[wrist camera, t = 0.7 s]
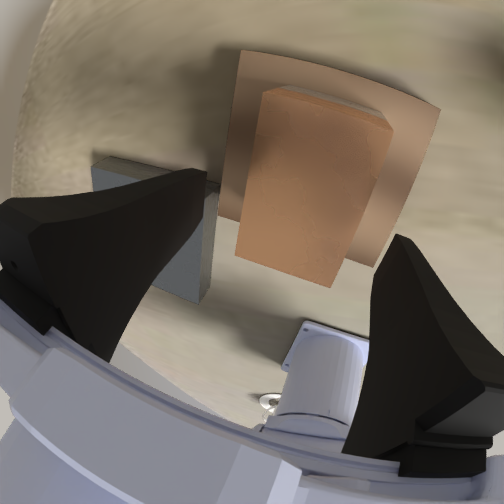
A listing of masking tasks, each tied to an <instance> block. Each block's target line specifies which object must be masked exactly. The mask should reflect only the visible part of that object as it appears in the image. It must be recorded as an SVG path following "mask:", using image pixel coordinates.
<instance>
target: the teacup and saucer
mask: <svg viewBox="0 0 504 504" xmlns="http://www.w3.org/2000/svg"><path fill="white" fill-rule="evenodd" d="M280 397H281V394H266V395H263V396H261V397H260V399H259V402H260V404H261V405H262V406H263V407H264V408H265V409H266V411H265V412H264V413H263V415H262V418H263V420H264V421H267V419H265V418H264V414H265V413H266V412H267V411H270V412H272V416H274V415H275V412H276V409H277V406H278V405H275V406H272V407H271V406H270V405H269V403H268V402H269V400H270V399H273V398H280ZM274 408H275V409H274Z"/></svg>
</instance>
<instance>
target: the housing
mask: <svg viewBox="0 0 504 504" xmlns="http://www.w3.org/2000/svg"><path fill="white" fill-rule="evenodd" d="M393 134H394V130H393V129H392V127H391V126H390V124H389V122H388V121H387V119H386V118H385V116H384V115H383V113H382V112H379V111H376V110H374V109H371V108H368V107H365V106H362V105H359V104H356V103H353V102H350V101H347V100H344V99H341V98H338V97H334V96H331V95H328V94H324V93H321V92H317V91H313V90H309V89H306V88H302V87H298V86H293V85H287V86H283V87H279V88H276V89H272V90H268V91H265V92H263V95H262V101H261V106H260V112H259V117H258V123H257V128H256V134H255V139H254V145H253V150H252V156H251V162H250V167H249V173H248V179H247V185H246V190H245V196H244V202H243V208H242V214H241V220H240V226H239V232H238V238H237V244H236V250H235V256H238V257H241V258H244V259H247V260H250V261H252V262H255V263H258V264H261V265H264V266H267V267H270V268H273V269H276V270H278V271H281V272H284V273H287V274H290V275H293V276H296V277H299V278H302V279H305V280H308V281H311V282H313V283H316V284H319V285H322V286H325V287H328V288H331V286H332V284H333V282H334V279H335V277H336V275H337V273H338V271H339V269H340V267H341V264H342V262H343V260H344V258H345V256H346V253H347V251H348V249H349V247H350V245H351V242H352V240H353V238H354V235H355V233H356V231H357V228H358V226H359V224H360V221H361V219H362V217H363V214H364V212H365V209H366V207H367V204H368V202H369V199H370V197H371V194H372V192H373V189H374V187H375V184H376V181H377V179H378V176H379V173H380V171H381V168H382V165H383V163H384V160H385V157H386V154H387V151H388V149H389V146H390V143H391V140H392V137H393Z"/></svg>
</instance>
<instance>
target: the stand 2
mask: <svg viewBox="0 0 504 504" xmlns="http://www.w3.org/2000/svg"><path fill="white" fill-rule="evenodd" d="M287 85H293V86H298V87H302V88H306V89H309V90H313V91H317V92H321V93H324V94H328V95H331V96H334V97H338V98H341V99H344V100H347V101H350V102H353V103H356V104H359V105H362V106H365V107H368V108H371V109H374V110H376V111H379V112H382V113H383V115H384V116H385V118H386V119H387V121H388V122H389V124H390V126H391V127H392V129H393V130H394V134H393V137H392V140H391V143H390V146H389V149H388V151H387V154H386V157H385V160H384V163H383V165H382V168H381V171H380V173H379V176H378V179H377V181H376V184H375V187H374V189H373V192H372V194H371V197H370V199H369V202H368V204H367V207H366V209H365V212H364V214H363V217H362V219H361V221H360V224H359V226H358V228H357V231H356V233H355V235H354V238H353V240H352V242H351V245H350V247H349V249H348V251H347V253H346V256H345V258H347V259H350V260H353V261H356V262H358V263H361V264H364V265H367V266H370V267H372V268H373V267H374V265H375V263H376V261H377V259H378V257H379V255H380V253H381V251H382V249H383V247H384V246H385V244H386V242H387V240H388V238H389V236H390V234H391V231H392V229H393V227H394V225H395V223H396V221H397V219H398V217H399V215H400V213H401V210H402V208H403V206H404V204H405V202H406V199H407V197H408V195H409V193H410V190H411V188H412V186H413V183H414V181H415V178H416V176H417V174H418V171H419V169H420V166H421V164H422V161H423V159H424V156H425V153H426V151H427V148H428V146H429V143H430V140H431V137H432V135H433V132H434V129H435V126H436V123H437V120H438V117H439V114H440V111H441V109H439V108H437V107H435V106H433V105H431V104H429V103H427V102H425V101H423V100H420V99H418V98H416V97H414V96H411V95H409V94H407V93H404V92H402V91H399V90H397V89H394V88H392V87H389V86H386V85H384V84H381V83H378V82H375V81H373V80H370V79H367V78H364V77H361V76H358V75H355V74H351V73H348V72H345V71H342V70H338V69H335V68H331V67H327V66H324V65H320V64H316V63H312V62H308V61H303V60H299V59H294V58H289V57H284V56H279V55H274V54H268V53H262V52H256V51H248V50H241V54H240V59H239V65H238V71H237V78H236V84H235V90H234V96H233V103H232V110H231V116H230V123H229V130H228V137H227V144H226V152H225V159H224V167H223V175H222V183H221V191H220V199H219V208H218V216H221V217H225V218H228V219H231V220H234V221H237V222H240V220H241V214H242V208H243V202H244V196H245V190H246V185H247V179H248V173H249V167H250V162H251V156H252V150H253V145H254V139H255V134H256V128H257V123H258V117H259V112H260V106H261V101H262V95H263V92H265V91H268V90H272V89H276V88H279V87H283V86H287Z"/></svg>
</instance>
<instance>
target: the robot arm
mask: <svg viewBox="0 0 504 504" xmlns="http://www.w3.org/2000/svg"><path fill="white" fill-rule="evenodd" d="M206 177H207V172H206V171H202V170H198V169H194V168H189V169H183V170H179V171H175V172H171V173H167V174H163V175H160V176H156V177H153V178H149V179H146V180H142V181H138V182H134V183H130V184H127V185H123V186H119V187H114V188H110V189H105V190H100V191H94V192H87V193H80V194H74V195H65V196H54V197H29V198H10V199H7V200H6V201H4V202H3V203H2V204H0V263H1V265H2V268H3V269H2V270H1V271H0V386H1V387H2V389H3V390H4V391H5V392H6V393H7V394H8V395H9V396H10V397H11V398H10V399H9V404H10V409H11V412H12V414H13V415H14V417H15V419H14V420H13V422H12V424H11V425H10V426H9V428H8V430H7V431H6V433H5V434H4V436H3V437H2V439H1V441H0V504H504V455H495V456H490V457H487V458H486V449H489V448H491V447H492V445H493V436H494V435H496V434H498V433H499V432H501V431H503V430H504V356H503V355H502V354H501V353H500V352H499V351H498V350H497V349H496V348H495V347H494V346H493V345H492V344H491V343H490V342H489V341H488V340H487V339H486V338H485V337H484V335H483V334H482V333H481V332H480V331H479V330H478V329H477V328H476V326H475V325H474V324H473V323H472V322H471V321H470V319H469V318H468V317H467V316H466V314H465V313H464V312H463V311H462V309H461V308H460V307H459V306H458V304H457V303H456V302H455V300H454V299H453V298H452V296H451V295H450V293H449V292H448V290H447V289H446V288H445V286H444V285H443V283H442V282H441V281H440V279H439V278H438V276H437V275H436V273H435V272H434V270H433V269H432V267H431V266H430V264H429V263H428V261H427V260H426V258H425V257H424V256H423V254H422V253H421V251H420V250H419V249H418V247H417V246H416V245H415V243H414V242H413V241H412V240H411V239H409V238H407V237H404V236H402V235H399V234H395V236H394V238H393V240H392V242H391V244H390V246H389V248H388V250H387V252H386V254H385V256H384V257H383V259H382V261H381V263H380V265H379V267H378V268H377V270H376V272H375V274H374V277H373V284H372V291H371V300H370V334H369V340H367V339H364V338H361V337H358V336H355V335H351V334H348V333H345V332H342V331H339V330H336V329H333V328H329V327H326V326H323V325H320V324H317V323H314V322H311V321H304V322H303V324H302V326H301V328H300V330H299V332H298V334H297V336H296V338H295V340H294V342H293V344H292V346H291V348H290V350H289V352H288V354H287V356H286V358H285V360H284V362H283V364H282V366H281V370H283V371H285V372H288V375H287V378H286V381H285V384H284V387H283V391H282V394H281V397H280V400H279V403H278V406H277V409H276V412H275V415H274V416H272V415H268V418H267V421H266V424H258V425H256V426H255V427H254V428H252V429H250V428H247V427H244V426H241V425H238V424H236V423H233V422H230V421H228V420H225V419H222V418H220V417H217V416H215V415H212V414H210V413H207V412H205V411H203V410H200V409H198V408H196V407H193V406H191V405H189V404H186V403H184V402H182V401H180V400H178V399H175V398H173V397H171V396H169V395H167V394H165V393H163V392H161V391H159V390H157V389H155V388H153V387H151V386H149V385H147V384H145V383H143V382H141V381H139V380H138V379H135V378H134V377H132V376H130V375H128V374H127V373H125V372H123V371H121V370H119V369H118V368H116V367H114V366H113V365H111V364H109V362H110V360H111V358H112V355H113V353H114V351H115V348H116V346H117V344H118V342H119V340H120V338H121V336H122V334H123V332H124V330H125V328H126V326H127V324H128V322H129V320H130V319H131V317H132V315H133V313H134V312H135V310H136V308H137V306H138V305H139V303H140V301H141V300H142V298H143V297H144V295H145V293H146V292H147V290H148V289H149V287H150V286H151V284H152V282H153V281H154V280H155V278H156V277H157V276H158V275H159V273H160V272H161V271H162V270H163V269H164V267H165V266H166V265H167V264H168V263H169V261H170V260H171V259H172V258H173V257H174V256H175V255H176V253H177V252H178V251H179V250H180V249H181V248H182V246H183V245H184V244H185V243H186V242H187V241H188V239H189V238H190V237H191V236H192V234H193V233H194V231H195V230H196V228H197V226H198V225H199V223H200V222H201V220H202V218H203V212H204V200H205V188H206ZM306 328H307V329H306ZM366 363H367V365H366V371H365V376H364V380H363V385H362V389H361V393H360V397H359V392H360V384H361V376H362V368H363V367H364V366H365V364H366ZM358 399H359V401H358Z"/></svg>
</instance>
